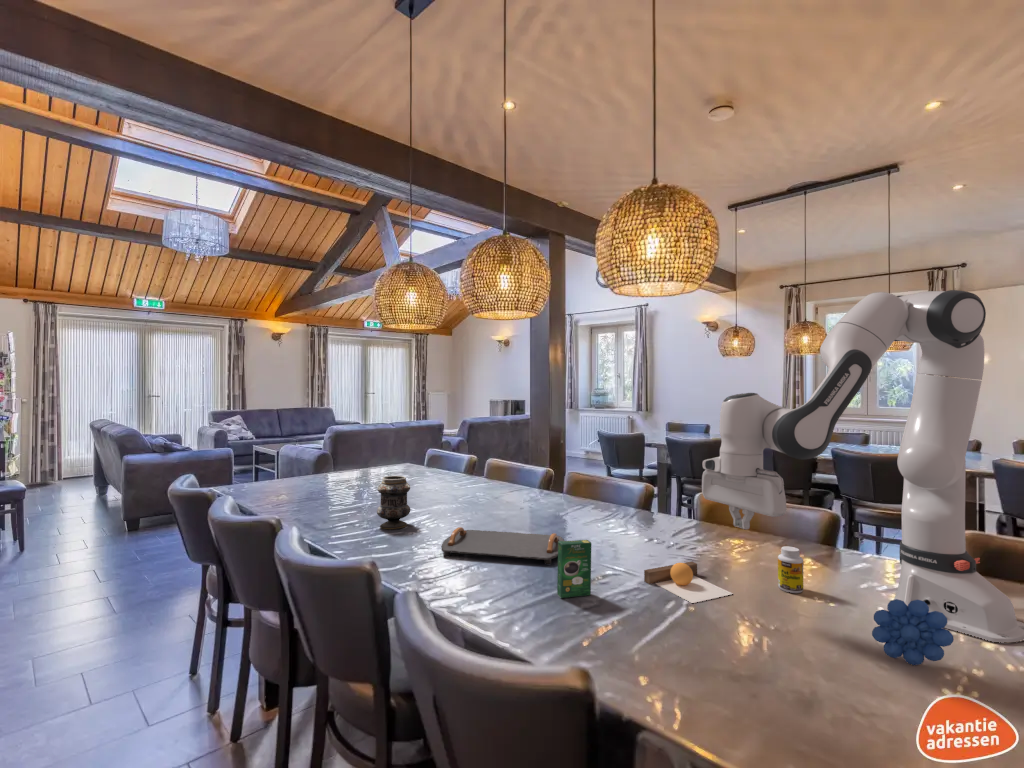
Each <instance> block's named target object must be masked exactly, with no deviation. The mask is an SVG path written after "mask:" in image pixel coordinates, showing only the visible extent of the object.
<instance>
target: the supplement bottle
mask: <svg viewBox="0 0 1024 768" xmlns="http://www.w3.org/2000/svg"><path fill="white" fill-rule="evenodd" d="M780 550H781V551H780V552H781V553H780V554H778V555H777V587H778V588H779V589H780V590H782V591H783V592H786V593H789V592H790V593H791V594H801V593H802V592H803V591H804V559H803V558H802V557H801V555H800V553H801V552H800V549H799V548H797V547H793V546H785V545H784V546H782V547H781V549H780Z"/></svg>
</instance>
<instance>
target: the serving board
mask: <svg viewBox="0 0 1024 768" xmlns="http://www.w3.org/2000/svg"><path fill="white" fill-rule="evenodd" d="M558 541H565V540H564V538H563V537H561V536H559V535H557V533H556V532H555V533H551V534H538V533H537V534H536V533H522V532H511V531H510V532H509V531H495V530H478V529H466V530H465V529H464V528H463V527H462V526H460V527H457V528H455V529H454V530H453V531H452V532H451V535H450V536H448V537H447V538H445V539H444V540H443V542H442V544H441V545H440V546H441V552H443V556H444V557H446V558H447V557H448V558H449V557H451V555H452V553H453V554H465V555H466V554H467V555H480V556H491V557H503V558H504V557H505V558H516V559H518V558H519V559H530V560H543V563H544V565H552V559H555V558H558Z"/></svg>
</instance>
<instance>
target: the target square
mask: <svg viewBox="0 0 1024 768" xmlns="http://www.w3.org/2000/svg"><path fill="white" fill-rule="evenodd" d="M654 584H655V585H656V586H658V587H660V588H661V589H663V590H665V591H668V592H669V593H671V594H673V595H675V596H676V597H678V596H679V597H678V598H680V597H681V598H680V599H682V600H684V599H685V600H684V601H686V600H687V601H686V602H688V601H689V602H688V603H689V604H691V603H694V604H698V603H702V601H703V602H706V600H707V601H711V599H712V600H716V599H720V598H719V597H721V598H724V596H725V597H729V596H728V595H730V596H733V595H734V593H732V592H731V591H728V590H726V589H724V588H722V587H720V586H717V585H715V584H714V583H711V582H709V581H706V580H705V579H702V578H700V577H698V576H697V575H695V576H693V579H692V581H691V582H690V583H689V584H688V585H684V586H682V585H678V584H676V583H675V582H674V581H673V580H669V581H664V582H659V583H654ZM732 594H733V595H732ZM697 602H698V603H697Z"/></svg>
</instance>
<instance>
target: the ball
mask: <svg viewBox="0 0 1024 768" xmlns="http://www.w3.org/2000/svg"><path fill="white" fill-rule="evenodd" d="M685 563H686V562H677V563H675V564H672V565H673V566H672V568H671V571H670V574H671V578H672V580H673V581H674V582H675V583H676V584H678V585H682V586H684V585H688V584H689V583H690V582H691V581H692V579H693V572H692V569H691V568H690V567H689V566H688V565H687V564H685Z"/></svg>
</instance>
